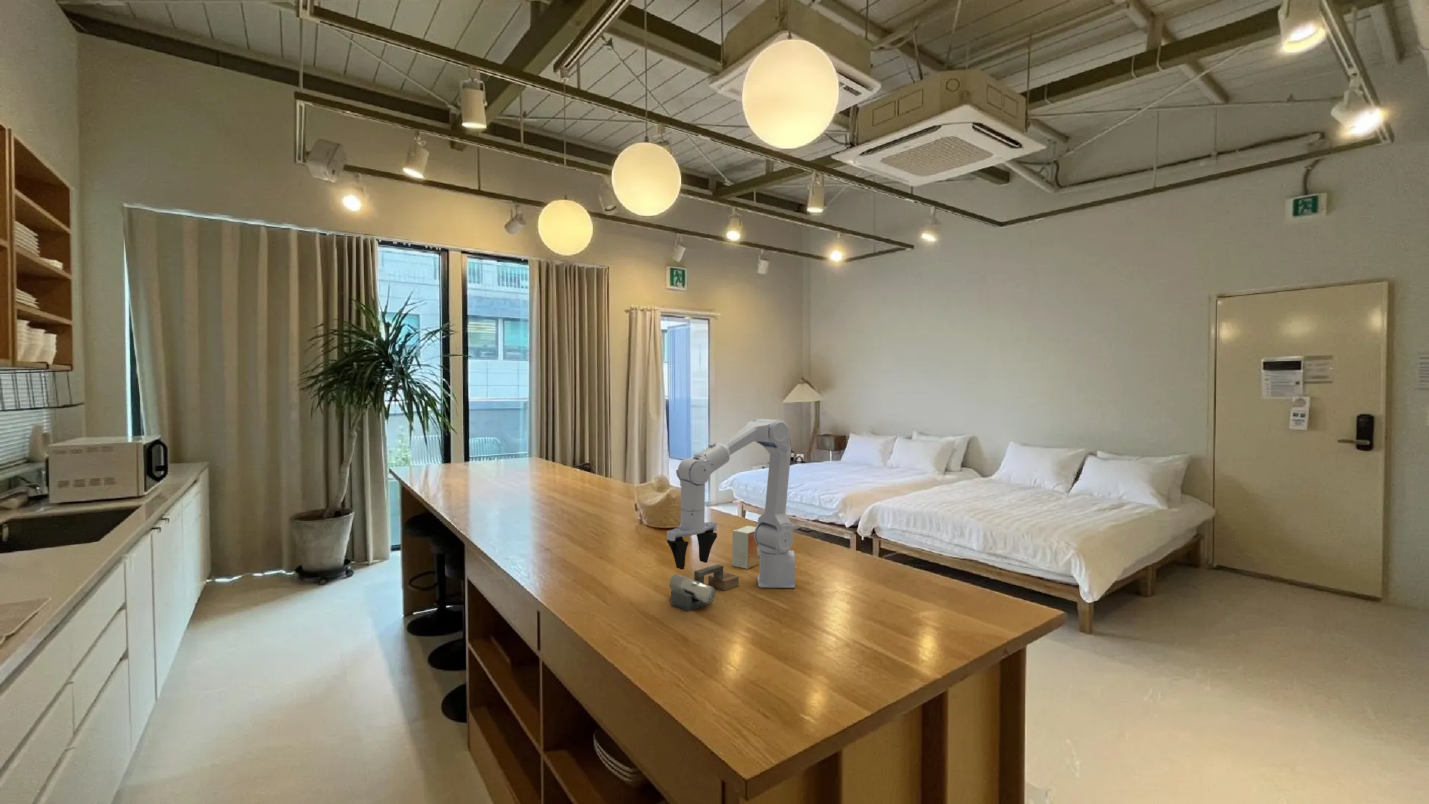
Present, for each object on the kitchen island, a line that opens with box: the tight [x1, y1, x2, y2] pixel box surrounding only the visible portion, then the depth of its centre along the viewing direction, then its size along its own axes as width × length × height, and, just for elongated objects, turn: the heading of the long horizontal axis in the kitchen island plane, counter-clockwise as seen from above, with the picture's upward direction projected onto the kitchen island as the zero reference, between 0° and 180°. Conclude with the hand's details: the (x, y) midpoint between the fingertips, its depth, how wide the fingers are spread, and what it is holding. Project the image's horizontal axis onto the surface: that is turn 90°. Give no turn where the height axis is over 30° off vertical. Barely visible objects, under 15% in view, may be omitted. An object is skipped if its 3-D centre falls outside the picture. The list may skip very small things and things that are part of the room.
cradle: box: [670, 589, 713, 612], centre depth 143 cm, size 6×8×4 cm
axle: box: [669, 573, 716, 605], centre depth 144 cm, size 12×4×4 cm, turn 45°
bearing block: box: [693, 564, 740, 592], centre depth 154 cm, size 6×12×6 cm, turn 135°
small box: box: [731, 525, 760, 570], centre depth 174 cm, size 8×6×10 cm
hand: (692, 565), depth 143 cm, fingers open, 7 cm apart
